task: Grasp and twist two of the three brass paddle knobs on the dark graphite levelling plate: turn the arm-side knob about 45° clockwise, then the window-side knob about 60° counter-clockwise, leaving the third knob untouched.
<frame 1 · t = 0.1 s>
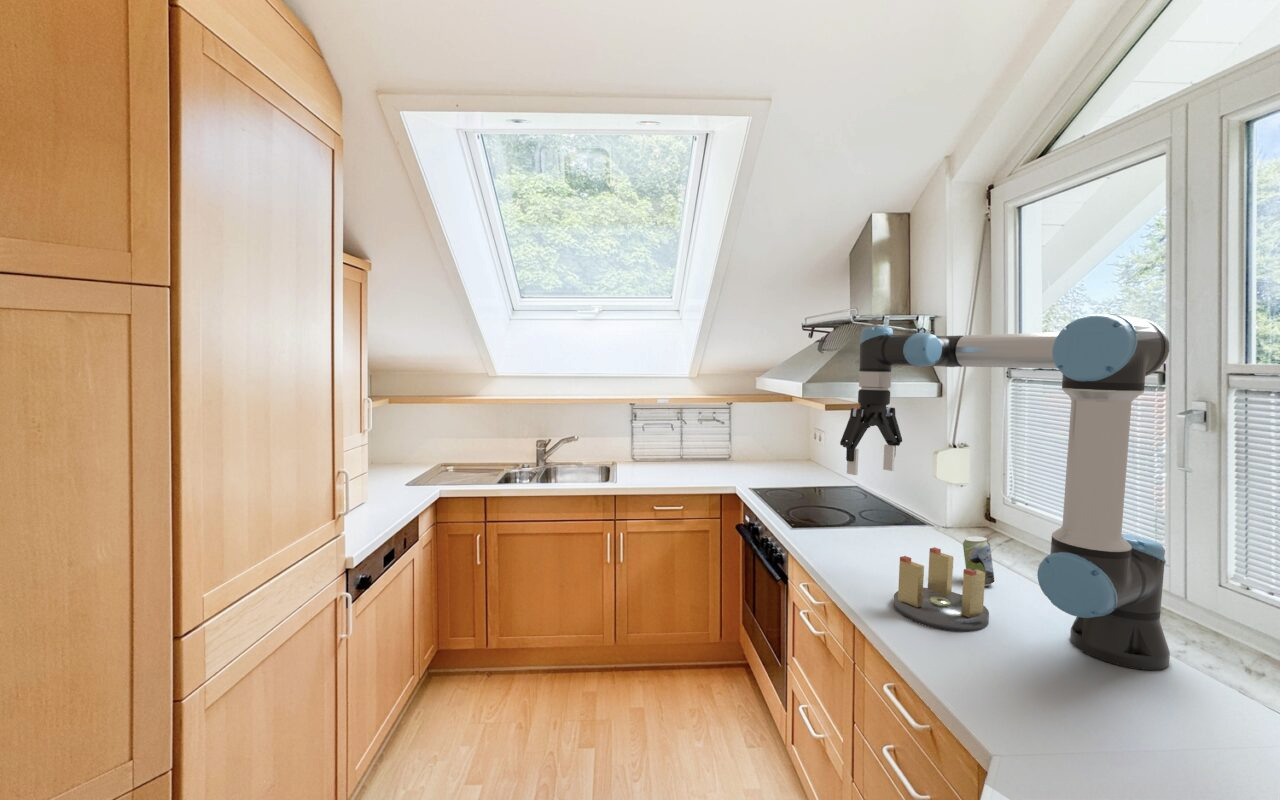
hand: (870, 472, 150), 28 cm above the countertop, fingers open, 13 cm apart
knob c: (940, 571, 138), point 7 cm above the countertop, hinge at 0.0°
knob a: (910, 581, 132), point 7 cm above the countertop, hinge at 0.0°
tribrach plate: (939, 612, 133), on the countertop
knob b: (973, 591, 126), point 7 cm above the countertop, hinge at 0.0°
beverage can: (977, 584, 150), on the countertop
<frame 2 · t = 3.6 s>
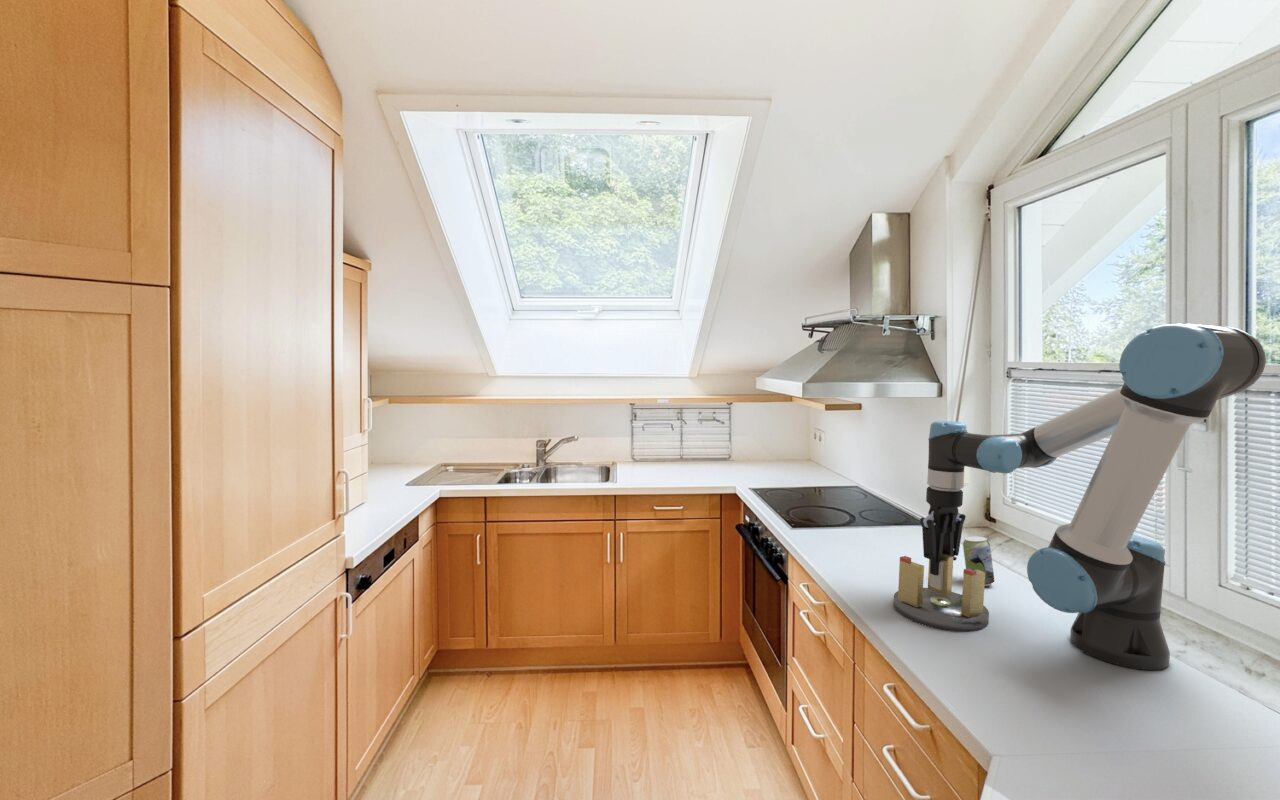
hand: (939, 586, 139), 4 cm above the countertop, fingers closed on knob c, 2 cm apart
knob c: (940, 571, 138), point 7 cm above the countertop, hinge at -0.2°, touching gripper
everything else where it was.
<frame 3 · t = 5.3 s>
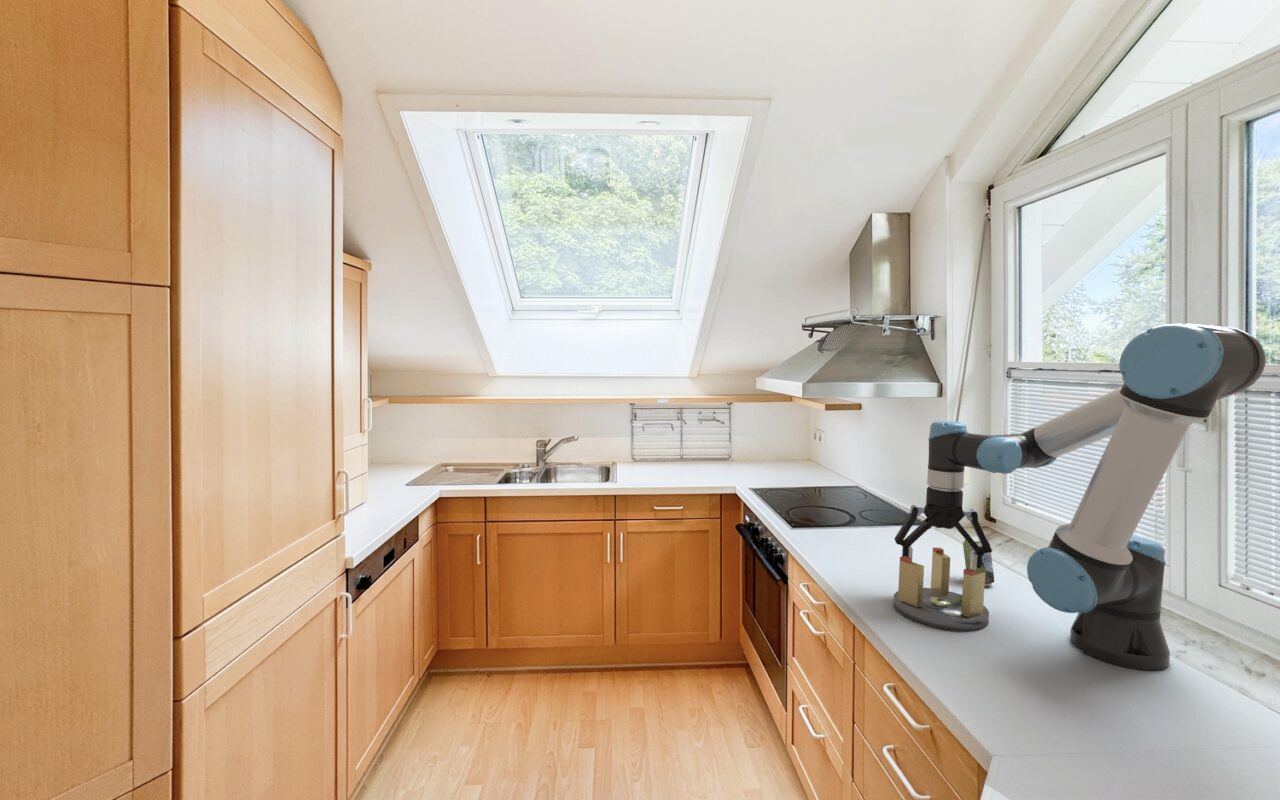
hand: (940, 577, 138), 6 cm above the countertop, fingers open, 13 cm apart
knob c: (940, 571, 138), point 7 cm above the countertop, hinge at -30.3°
everything else where it was.
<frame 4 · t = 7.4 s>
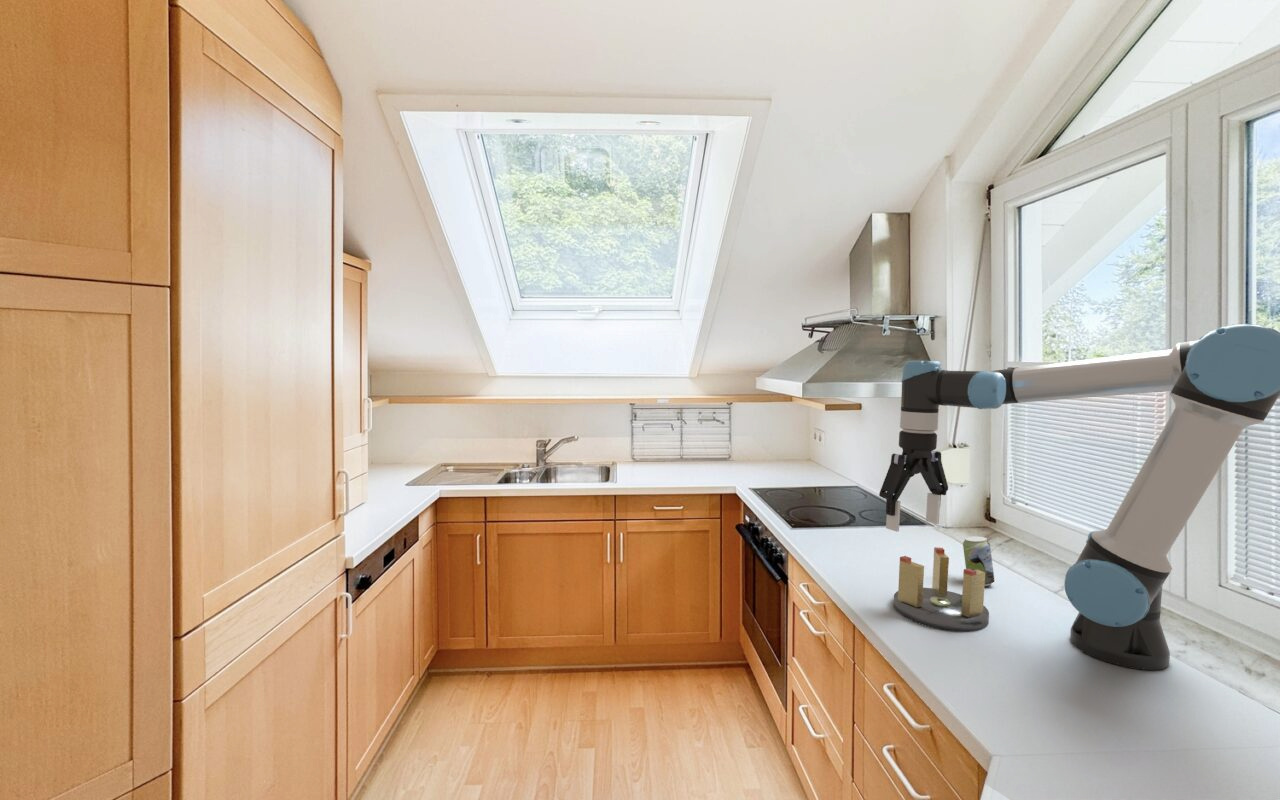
hand: (912, 526, 131), 20 cm above the countertop, fingers open, 13 cm apart
knob c: (940, 571, 138), point 7 cm above the countertop, hinge at -39.7°
everything else where it was.
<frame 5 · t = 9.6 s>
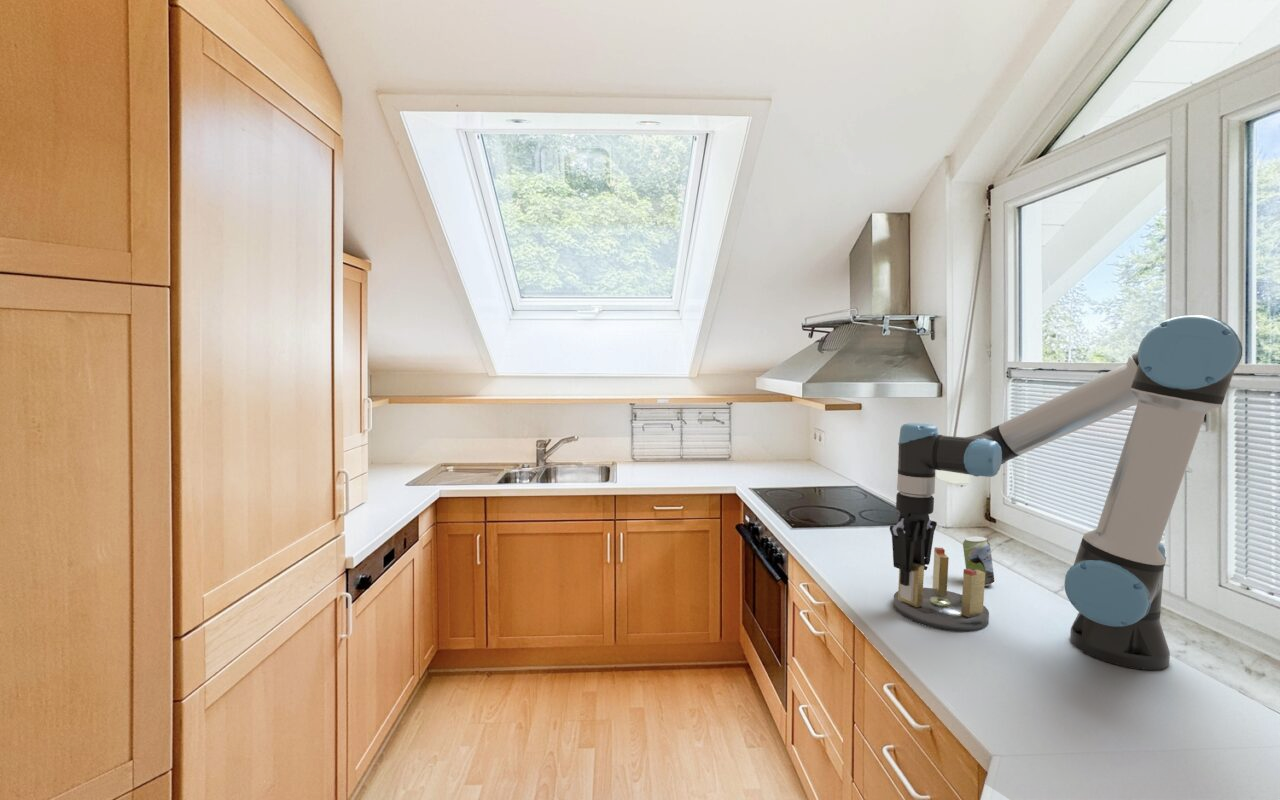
hand: (910, 597, 132), 3 cm above the countertop, fingers closed on knob a, 2 cm apart
knob c: (940, 571, 138), point 7 cm above the countertop, hinge at -41.2°
knob a: (910, 581, 132), point 7 cm above the countertop, hinge at 0.0°, touching gripper
everything else where it was.
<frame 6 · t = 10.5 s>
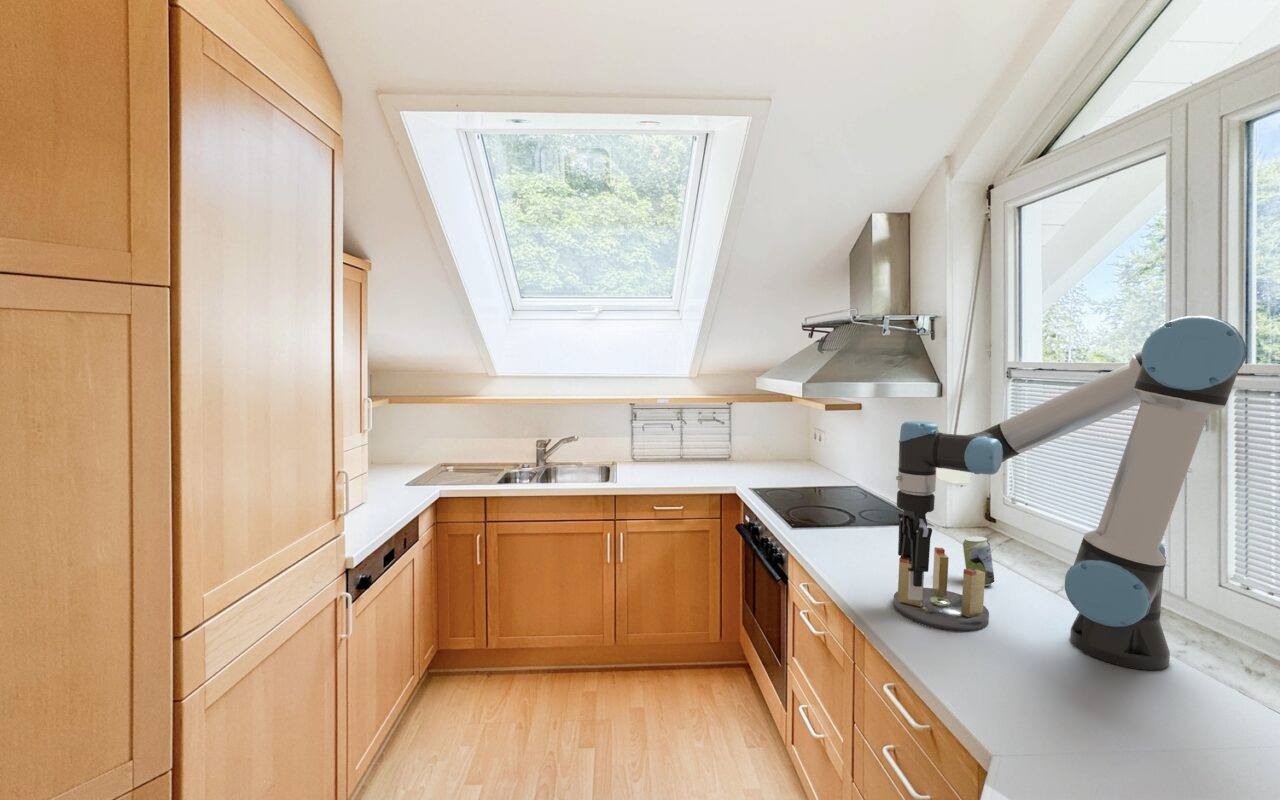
hand: (911, 594, 132), 4 cm above the countertop, fingers closed on knob a, 4 cm apart
knob a: (910, 581, 132), point 7 cm above the countertop, hinge at 22.8°, touching gripper
everything else where it was.
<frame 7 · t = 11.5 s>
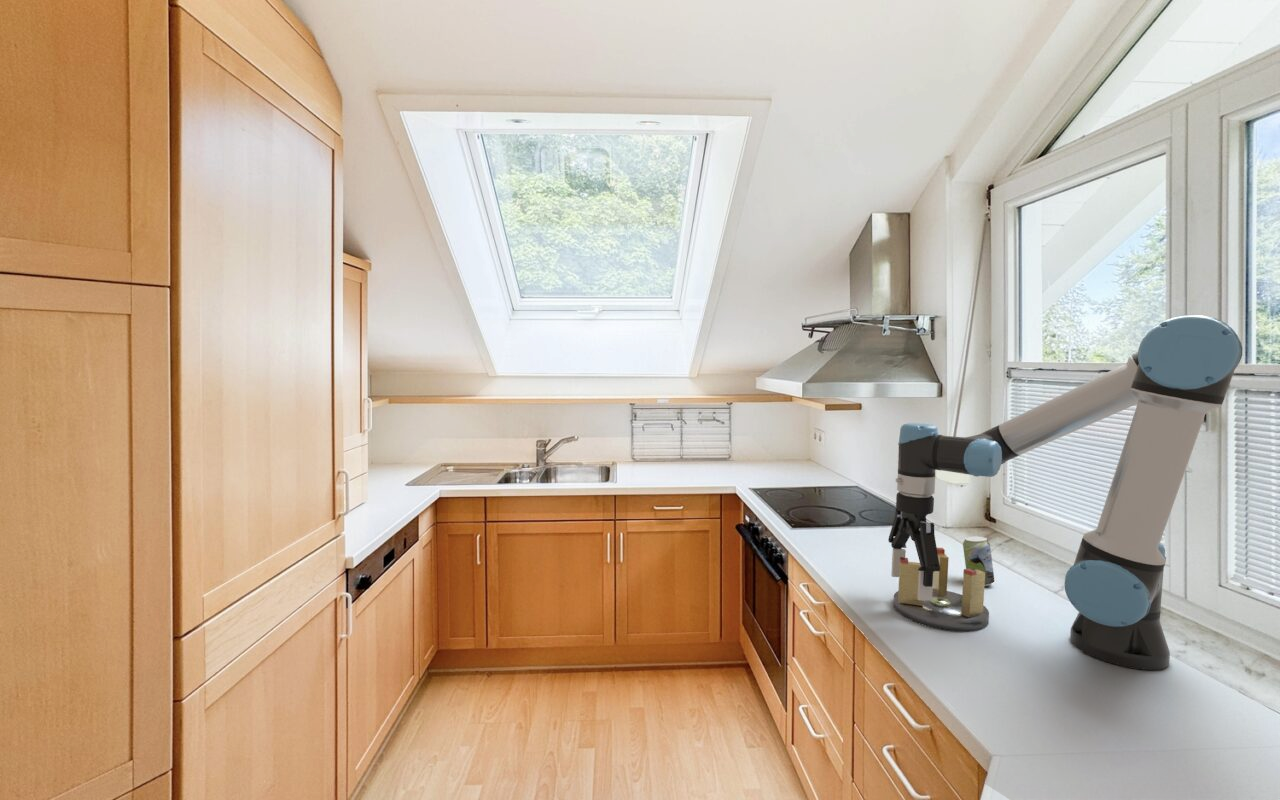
hand: (910, 587, 132), 6 cm above the countertop, fingers open, 13 cm apart
knob a: (910, 581, 132), point 7 cm above the countertop, hinge at 40.9°
everything else where it was.
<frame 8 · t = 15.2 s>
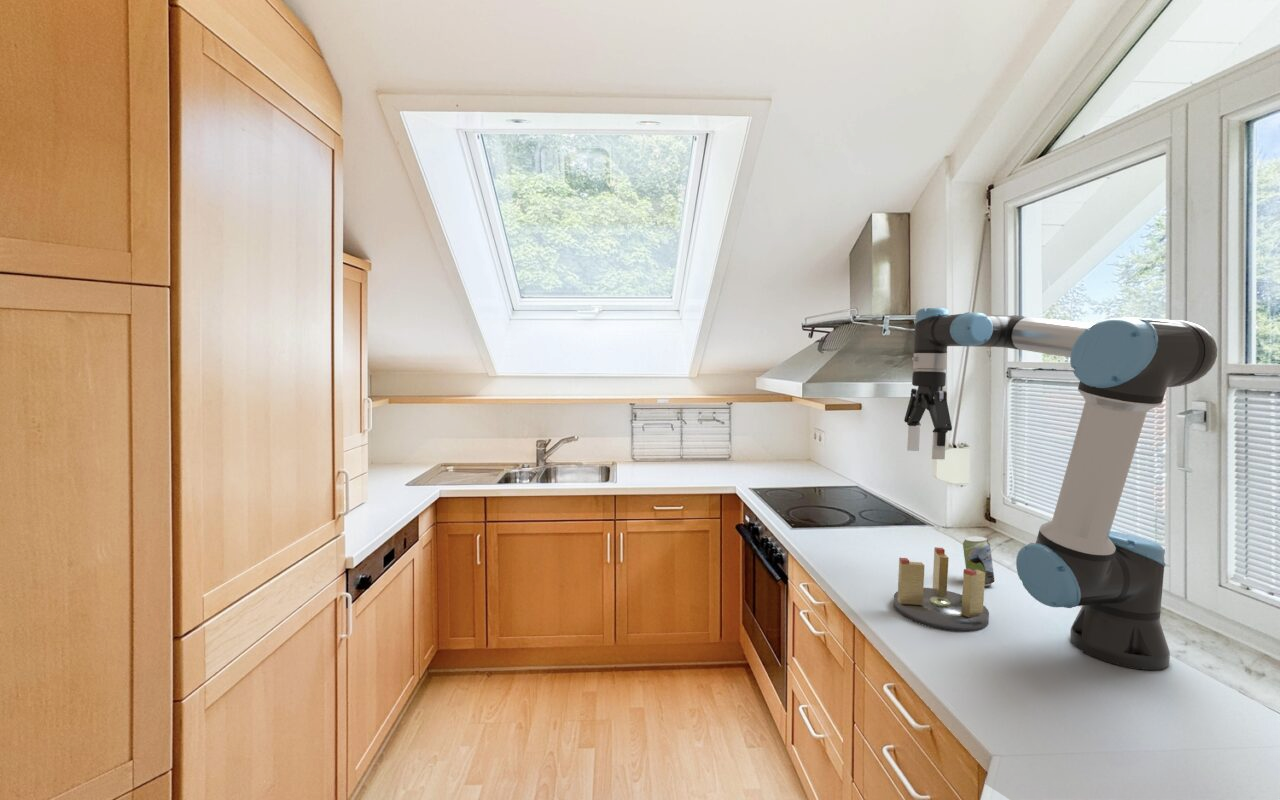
hand: (925, 454, 149), 33 cm above the countertop, fingers open, 13 cm apart
knob a: (910, 581, 132), point 7 cm above the countertop, hinge at 52.8°
everything else where it was.
at the end: knob a at +53° (first picture: +0°); knob c at -42° (first picture: +0°); knob b at +0° (first picture: +0°) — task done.
